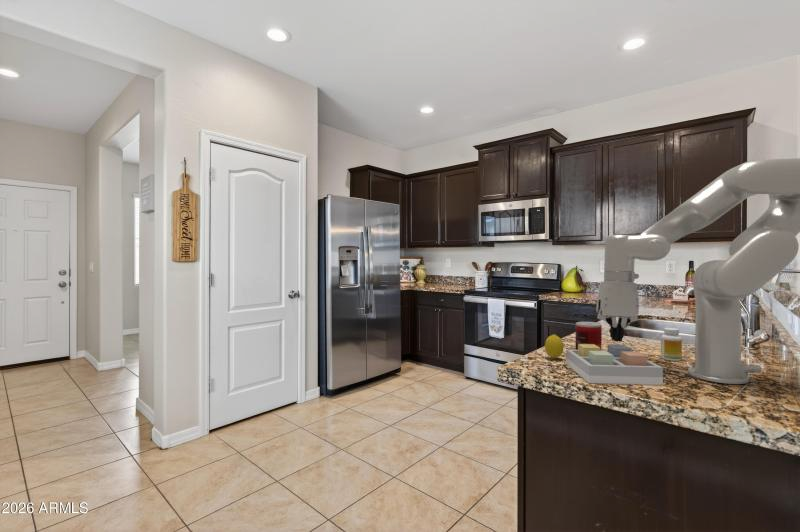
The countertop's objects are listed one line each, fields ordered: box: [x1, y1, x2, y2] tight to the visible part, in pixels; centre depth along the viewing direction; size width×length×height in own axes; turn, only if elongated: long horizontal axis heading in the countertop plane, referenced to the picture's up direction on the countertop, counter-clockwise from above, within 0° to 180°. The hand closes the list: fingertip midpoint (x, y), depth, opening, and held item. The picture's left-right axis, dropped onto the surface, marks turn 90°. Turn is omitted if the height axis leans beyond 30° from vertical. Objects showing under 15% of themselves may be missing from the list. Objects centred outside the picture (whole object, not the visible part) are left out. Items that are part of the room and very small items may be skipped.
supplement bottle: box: [660, 327, 683, 362], centre depth 122 cm, size 5×5×10 cm
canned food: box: [575, 321, 603, 350], centre depth 126 cm, size 8×8×11 cm
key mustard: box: [578, 344, 600, 357], centre depth 112 cm, size 5×5×3 cm
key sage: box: [589, 351, 613, 365], centre depth 103 cm, size 5×5×3 cm
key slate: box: [607, 344, 633, 357], centre depth 111 cm, size 5×5×3 cm
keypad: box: [566, 349, 664, 386], centre depth 107 cm, size 18×18×4 cm
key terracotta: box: [621, 351, 648, 366], centre depth 103 cm, size 5×5×3 cm
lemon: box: [544, 333, 564, 360], centre depth 123 cm, size 6×6×8 cm
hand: (616, 340), depth 111 cm, fingers closed
